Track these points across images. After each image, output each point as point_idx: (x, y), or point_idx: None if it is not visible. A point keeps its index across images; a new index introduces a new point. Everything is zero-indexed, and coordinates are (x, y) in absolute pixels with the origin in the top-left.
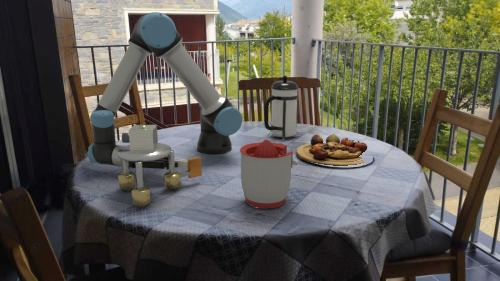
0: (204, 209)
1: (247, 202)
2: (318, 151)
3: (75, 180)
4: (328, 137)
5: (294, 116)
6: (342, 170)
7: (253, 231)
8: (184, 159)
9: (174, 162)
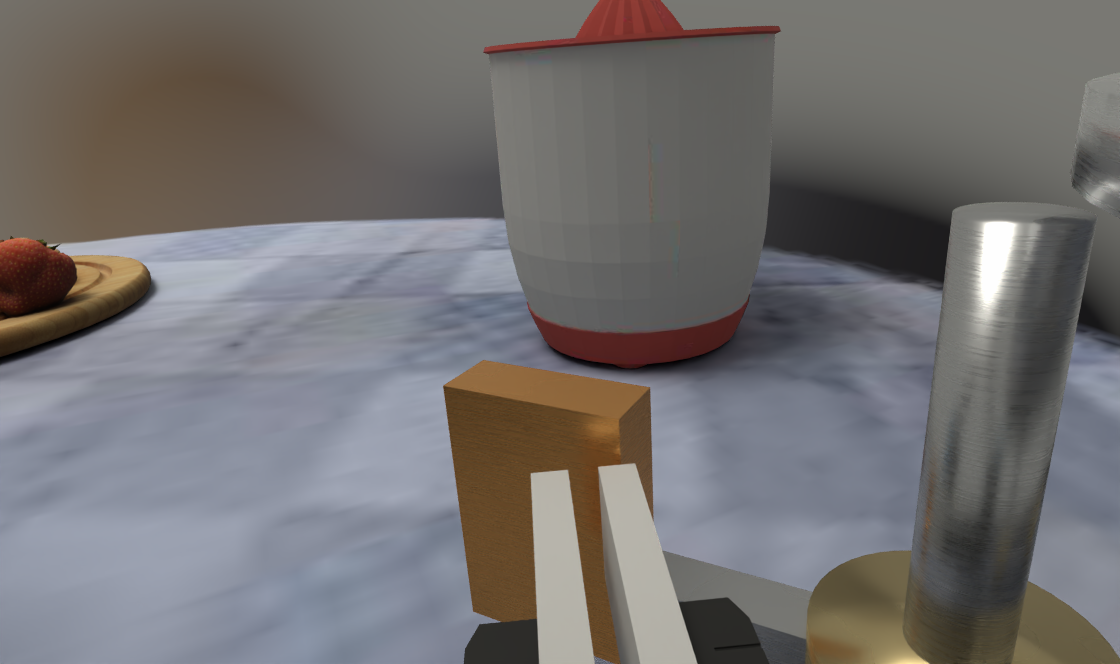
0: None
1: (715, 345)
2: (50, 255)
3: None
4: None
5: None
6: (169, 290)
7: (919, 297)
8: (540, 527)
9: (709, 650)
